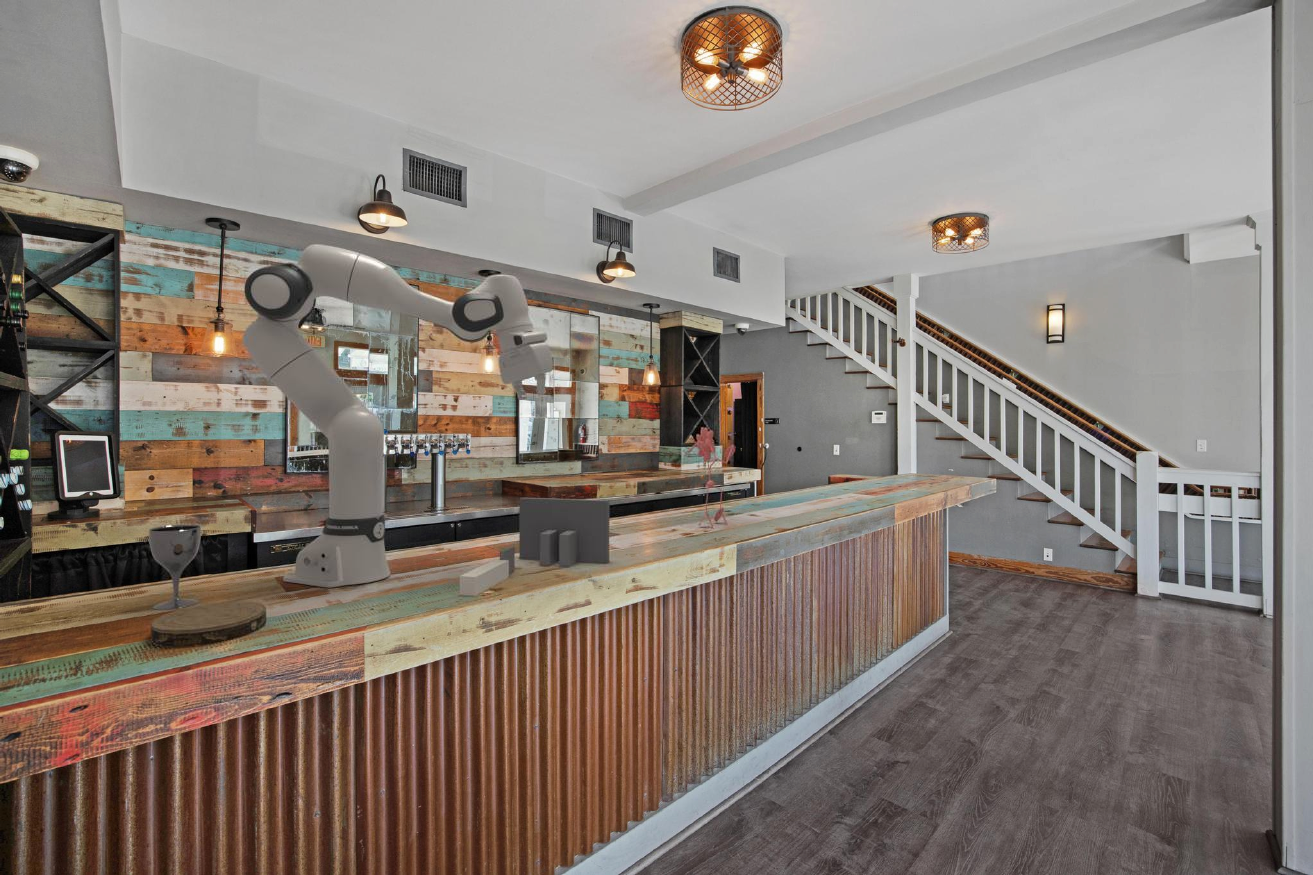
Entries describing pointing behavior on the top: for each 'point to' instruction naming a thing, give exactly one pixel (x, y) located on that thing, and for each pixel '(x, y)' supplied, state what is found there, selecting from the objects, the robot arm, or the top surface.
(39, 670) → the top surface
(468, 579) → the rail
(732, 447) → the pink spindly flower stalk
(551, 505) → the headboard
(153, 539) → the wine glass
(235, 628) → the wood slice coaster
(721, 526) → the top surface
